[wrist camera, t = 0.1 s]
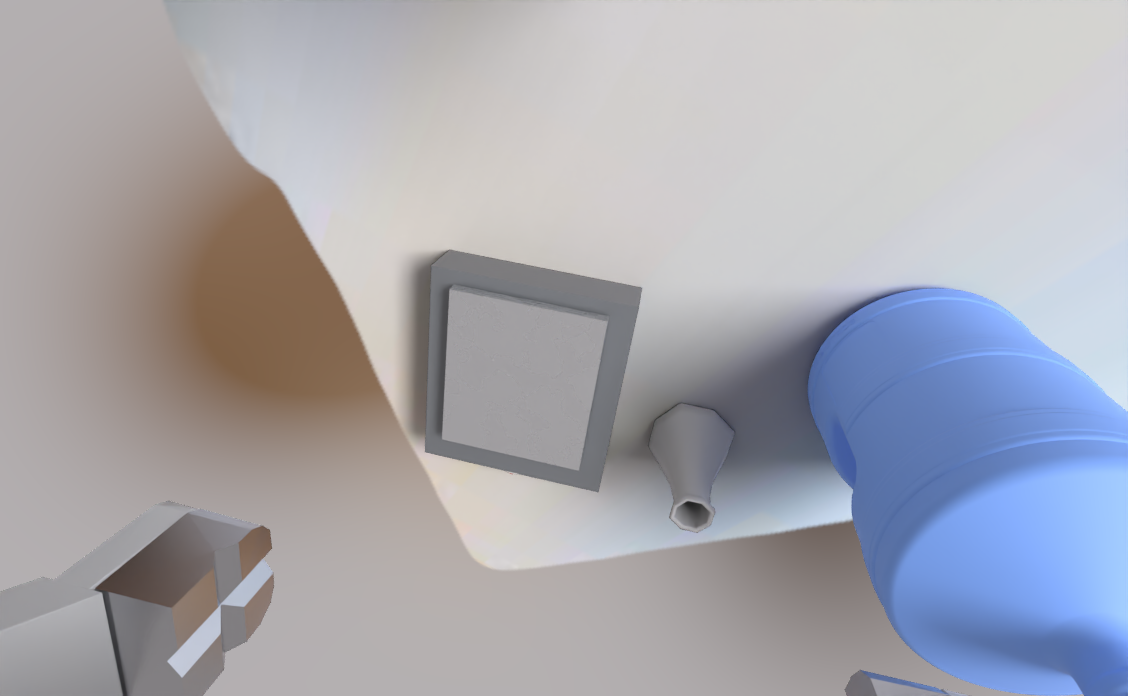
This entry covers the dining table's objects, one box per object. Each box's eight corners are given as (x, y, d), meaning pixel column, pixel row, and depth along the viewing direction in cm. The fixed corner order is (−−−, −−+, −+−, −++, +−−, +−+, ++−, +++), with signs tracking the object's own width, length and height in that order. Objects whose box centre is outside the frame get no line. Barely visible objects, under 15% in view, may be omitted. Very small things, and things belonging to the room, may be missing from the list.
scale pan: (454, 284, 45) (449, 289, 44) (609, 316, 44) (607, 321, 43) (446, 432, 51) (441, 439, 50) (580, 463, 50) (578, 470, 49)
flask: (749, 427, 51) (763, 507, 42) (703, 482, 54) (706, 566, 45) (677, 388, 50) (675, 460, 42) (634, 446, 54) (625, 523, 45)
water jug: (893, 246, 42) (1191, 524, 17) (1079, 346, 43) (1614, 746, 18) (765, 404, 49) (847, 756, 25) (926, 487, 50) (1158, 906, 26)
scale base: (449, 249, 48) (431, 265, 45) (642, 287, 47) (638, 307, 43) (440, 432, 57) (424, 457, 53) (602, 469, 55) (597, 497, 52)
